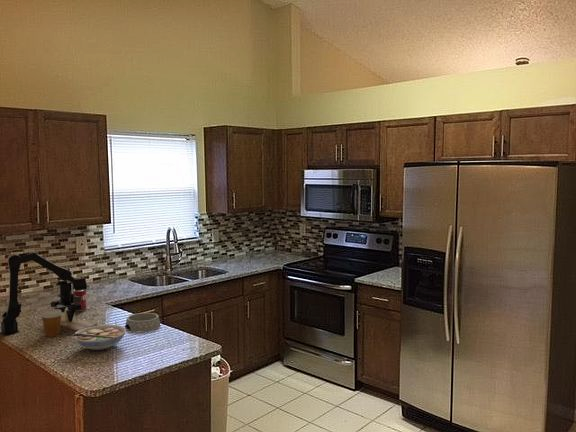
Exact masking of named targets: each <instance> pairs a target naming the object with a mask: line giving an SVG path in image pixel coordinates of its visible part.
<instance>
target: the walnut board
mask: <svg viewBox="0 0 576 432" xmlns="http://www.w3.org/2000/svg"><path fill="white" fill-rule="evenodd" d="M92 326H98V323H95V322H90V321H87V320H82V319H81V320H78V321H76V322H75V323H71V324H68V325H65V326H62V325H61V331H64V332H67V333H68V332H69V333H76V332H77V331H79V330H81V329H84V328H87V327H92Z"/></svg>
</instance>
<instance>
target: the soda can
mask: <svg viewBox="0 0 576 432" xmlns="http://www.w3.org/2000/svg"><path fill="white" fill-rule="evenodd" d="M72 294H75V296H77V297H82V300H81V303H79V304H81V305H82V309H80V310H77V311H76V312H83V311H86V310H87V309H88V305H87V301H88V300H87V290H81V291H75V290H73V289H72ZM75 303H78V302H75ZM75 303H72V304H75Z"/></svg>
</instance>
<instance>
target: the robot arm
mask: <svg viewBox="0 0 576 432" xmlns="http://www.w3.org/2000/svg"><path fill="white" fill-rule="evenodd" d="M32 261H33V262H35V263H37V264H39V265H40V266H42V267H44V268H45V269H46V270H49V271H50V272H52V273H53V274H55V275H56V276H57V277H58V278H60V279H58V280H57V281H56V282H55V285H56V286H59V294H58V295H57V297H58V298H59V299H56V300H52V301H51V302H50V308H53V309H60V310H61V312H65V311H66V313H67V316H68V319H69V322H72V319H73V316H74V314H75V315H76V312H78V311H77V310H80V309H82V305H81V304H79V303H81V300H82V297H77V296H75V294H73V290H75V291H81V290H86V291H87V290H88V284H87V280H86V277H83V276H82V277H81V278H79V277H78V278H75V277H74V276H72V275H73V273H72V271H70V269H68V268H66V267H63V266H60V265H57V264H55V263H54V262H51V261H50V260H48V259H46V258H45V257H43V256H41V255H39V254H37V252H35V251H31V252H23V253H19V254H18V253H11V254H9V255H8V256H7V266H8V270H9V285H8V286H9V288H8V302H7V305H6V309H5V312H3V313H2V315H1V319H2V321H0V328H1V329H0V335H4V336H10V335H12V334H17V333H19V332H20V330H19V323H18V319H17V318H18V317H20V314H21V313H22V303H21V301H19V300H18V299H19V297H18V295H19V272H20V269H21V266H22V265H21V264H25V263H28V262H32ZM75 302H78V303H75ZM73 303H75V304H73ZM66 309H67V310H66Z"/></svg>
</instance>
